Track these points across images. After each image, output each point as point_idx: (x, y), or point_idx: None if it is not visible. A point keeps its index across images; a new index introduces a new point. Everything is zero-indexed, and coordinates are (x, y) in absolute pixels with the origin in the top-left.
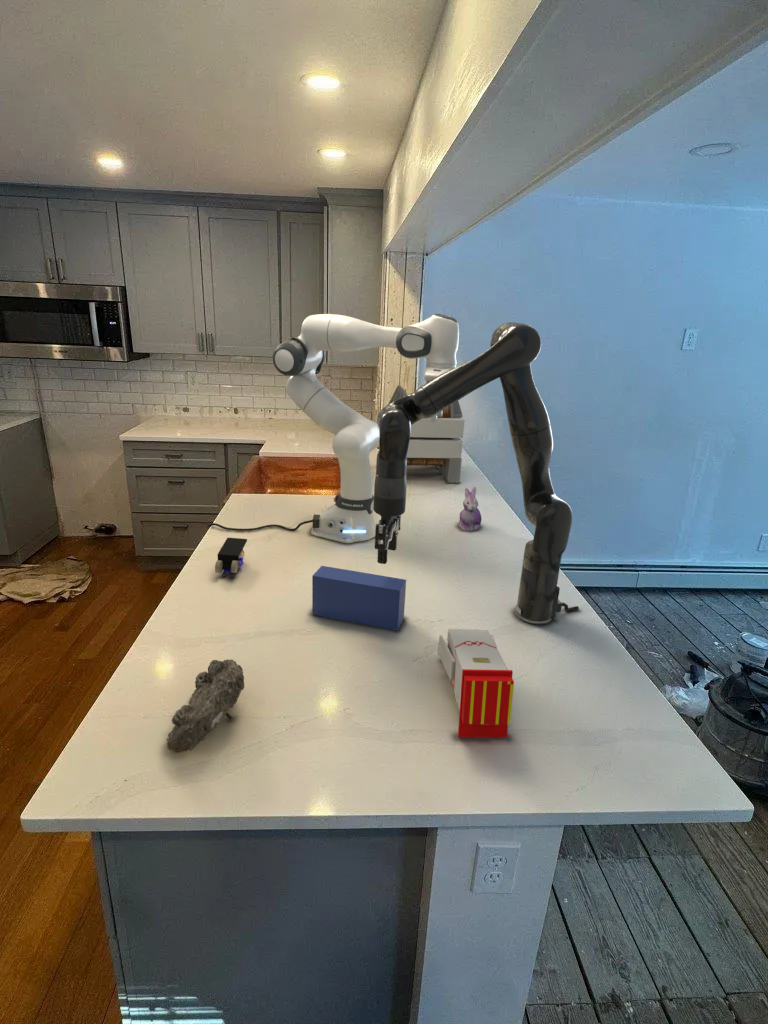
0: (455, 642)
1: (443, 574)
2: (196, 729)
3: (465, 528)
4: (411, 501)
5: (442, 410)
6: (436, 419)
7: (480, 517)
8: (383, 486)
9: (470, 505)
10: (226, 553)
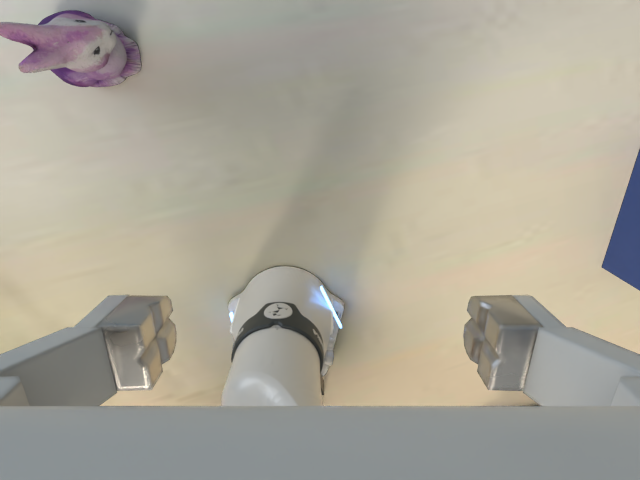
0: None
1: (439, 72)
2: None
3: (136, 60)
4: (8, 245)
5: (90, 333)
6: (513, 304)
7: (77, 12)
8: None
9: (106, 39)
10: None
